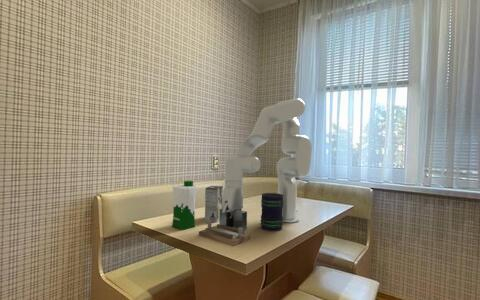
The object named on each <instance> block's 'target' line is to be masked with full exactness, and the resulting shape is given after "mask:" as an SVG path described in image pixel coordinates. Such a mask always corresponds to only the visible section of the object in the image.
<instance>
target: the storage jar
mask: <svg viewBox="0 0 480 300" xmlns="http://www.w3.org/2000/svg"><path fill="white" fill-rule="evenodd" d="M260 205H261V215H260V229H261V230H263V231H267V232H280V231H282V230H283V225H284V222H283V216H282V208H283V195H282V194H278V192H277V193H275V192H265V193H262V194H261V202H260Z"/></svg>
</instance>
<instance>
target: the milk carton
mask: <svg viewBox="0 0 480 300" xmlns="http://www.w3.org/2000/svg"><path fill="white" fill-rule="evenodd" d="M197 188H198V186H197V185H194V181H193V180H184V181H183V184H179V185H174V186H172V192H173V211H172V212H173V216H172V228H175V229H178V230H181V231H184V230H187V229H192V228H195V227H196V219H195V217H196V215H195V214H196V213H195V211H196V209H195V207H196V193H197Z"/></svg>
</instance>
